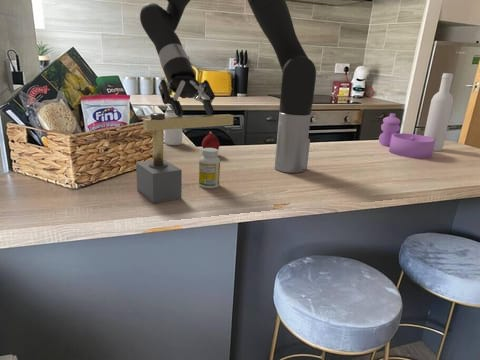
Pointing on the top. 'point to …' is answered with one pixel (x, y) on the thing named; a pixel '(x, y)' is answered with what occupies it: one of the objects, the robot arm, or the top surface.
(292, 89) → the robot arm
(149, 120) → the tan latch lever
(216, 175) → the supplement bottle
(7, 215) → the top surface
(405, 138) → the container set
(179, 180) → the block
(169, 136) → the can
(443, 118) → the bottle
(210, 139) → the red apple
